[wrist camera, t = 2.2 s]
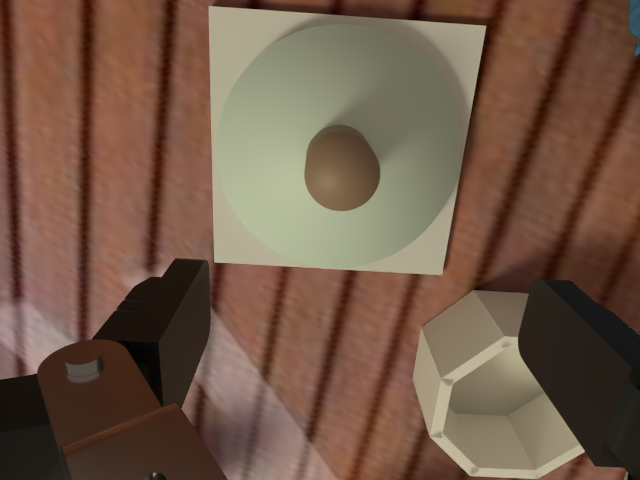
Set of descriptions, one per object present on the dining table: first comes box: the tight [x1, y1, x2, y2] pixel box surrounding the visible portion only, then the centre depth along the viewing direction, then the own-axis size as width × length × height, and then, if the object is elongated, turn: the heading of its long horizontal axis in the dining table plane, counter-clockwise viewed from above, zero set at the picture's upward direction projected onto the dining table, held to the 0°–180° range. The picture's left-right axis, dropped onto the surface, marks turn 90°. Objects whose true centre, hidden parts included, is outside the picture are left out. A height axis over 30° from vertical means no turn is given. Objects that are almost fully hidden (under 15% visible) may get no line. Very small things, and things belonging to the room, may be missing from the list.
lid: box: [216, 24, 460, 268], centre depth 27 cm, size 15×15×6 cm
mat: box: [209, 6, 486, 275], centre depth 29 cm, size 16×16×1 cm
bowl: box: [412, 290, 585, 479], centre depth 33 cm, size 11×12×6 cm
